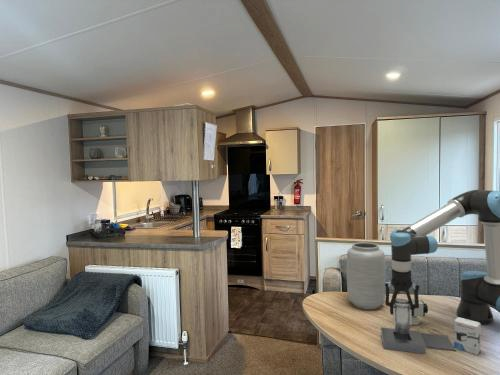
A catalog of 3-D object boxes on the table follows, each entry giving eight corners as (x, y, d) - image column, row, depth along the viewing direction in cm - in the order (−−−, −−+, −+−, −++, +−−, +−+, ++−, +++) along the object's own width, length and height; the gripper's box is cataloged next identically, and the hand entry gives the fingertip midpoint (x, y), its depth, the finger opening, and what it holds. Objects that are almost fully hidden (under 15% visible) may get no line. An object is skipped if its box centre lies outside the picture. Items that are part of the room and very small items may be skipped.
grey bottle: (409, 328, 145) (409, 299, 144) (412, 335, 138) (411, 305, 137) (392, 326, 147) (392, 297, 146) (394, 333, 140) (394, 304, 139)
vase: (341, 299, 193) (340, 242, 191) (372, 295, 196) (372, 240, 194) (358, 313, 173) (357, 250, 171) (393, 309, 176) (393, 247, 175)
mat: (447, 336, 147) (447, 335, 147) (455, 351, 136) (455, 349, 136) (417, 333, 151) (417, 332, 151) (423, 347, 139) (423, 346, 139)
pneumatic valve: (428, 326, 157) (428, 301, 157) (401, 324, 160) (401, 300, 159) (424, 321, 163) (424, 297, 162) (399, 319, 165) (398, 296, 164)
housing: (419, 339, 146) (419, 331, 146) (425, 353, 134) (425, 345, 134) (381, 334, 151) (381, 327, 150) (383, 348, 139) (383, 340, 139)
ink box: (453, 347, 138) (453, 320, 138) (456, 343, 142) (457, 316, 141) (477, 355, 132) (478, 326, 132) (480, 350, 136) (480, 322, 135)
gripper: (423, 267, 142) (424, 320, 143) (377, 265, 147) (378, 316, 148) (427, 273, 134) (428, 328, 136) (378, 271, 140) (379, 324, 141)
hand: (402, 322), depth 142 cm, fingers closed on grey bottle, 6 cm apart
